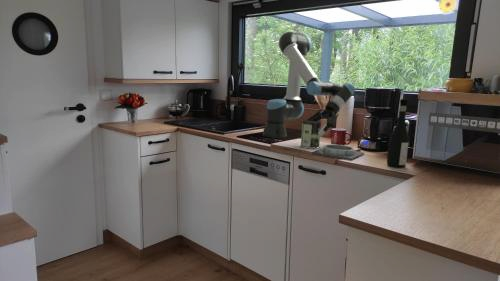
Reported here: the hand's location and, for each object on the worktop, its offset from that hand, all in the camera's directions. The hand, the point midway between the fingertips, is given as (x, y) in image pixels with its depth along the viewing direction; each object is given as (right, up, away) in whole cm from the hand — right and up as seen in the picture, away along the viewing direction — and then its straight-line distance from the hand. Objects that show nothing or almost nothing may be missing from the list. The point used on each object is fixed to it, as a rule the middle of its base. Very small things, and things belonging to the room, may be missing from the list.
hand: (311, 133), depth 198 cm
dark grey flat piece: (+11, -11, -14) cm, 21 cm away
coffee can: (-1, -8, +2) cm, 8 cm away
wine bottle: (+32, -16, -34) cm, 50 cm away
